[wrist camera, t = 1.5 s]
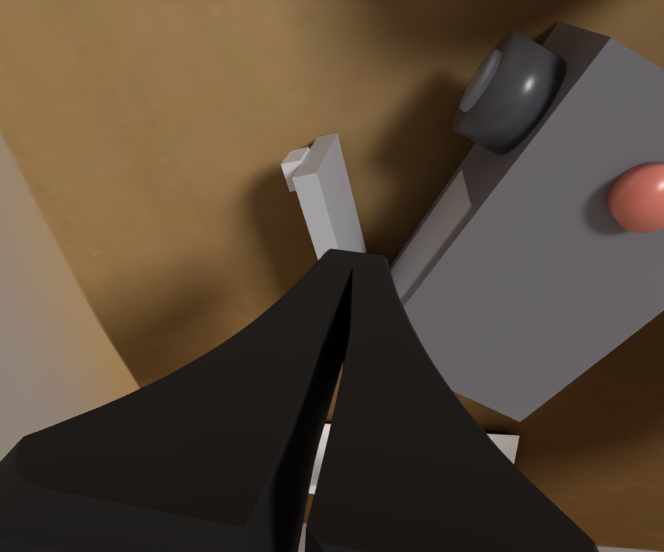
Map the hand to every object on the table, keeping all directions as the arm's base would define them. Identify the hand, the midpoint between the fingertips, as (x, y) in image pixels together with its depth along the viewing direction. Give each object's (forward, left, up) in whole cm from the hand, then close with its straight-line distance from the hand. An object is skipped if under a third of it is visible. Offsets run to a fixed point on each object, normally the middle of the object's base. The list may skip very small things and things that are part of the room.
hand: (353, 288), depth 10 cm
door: (0, +3, -9) cm, 9 cm away
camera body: (-6, -1, -9) cm, 11 cm away
